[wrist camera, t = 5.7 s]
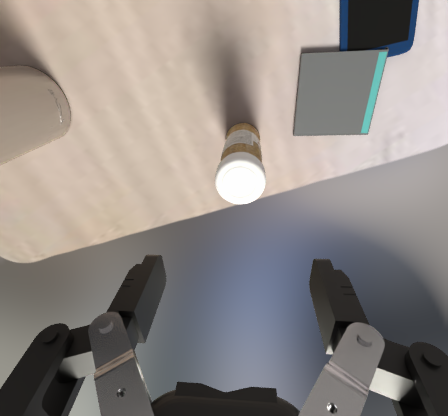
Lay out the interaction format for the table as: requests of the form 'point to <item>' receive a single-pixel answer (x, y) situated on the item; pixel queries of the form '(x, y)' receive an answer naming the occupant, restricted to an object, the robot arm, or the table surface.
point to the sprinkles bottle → (241, 166)
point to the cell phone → (378, 25)
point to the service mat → (338, 92)
